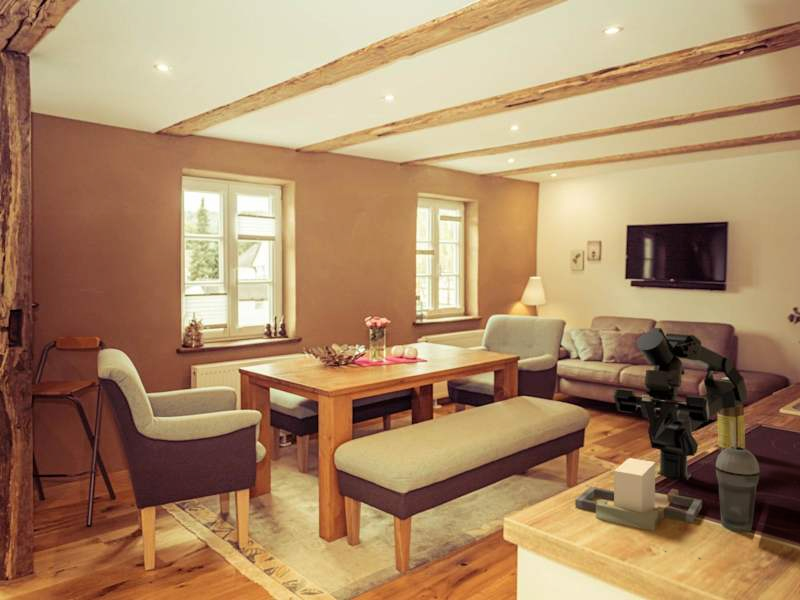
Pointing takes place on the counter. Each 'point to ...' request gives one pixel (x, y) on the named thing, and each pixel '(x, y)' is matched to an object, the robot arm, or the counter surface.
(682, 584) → the counter surface
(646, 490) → the cream block
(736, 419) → the sauce bottle
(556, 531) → the counter surface
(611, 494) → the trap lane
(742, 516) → the beverage cup
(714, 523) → the counter surface
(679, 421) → the robot arm
